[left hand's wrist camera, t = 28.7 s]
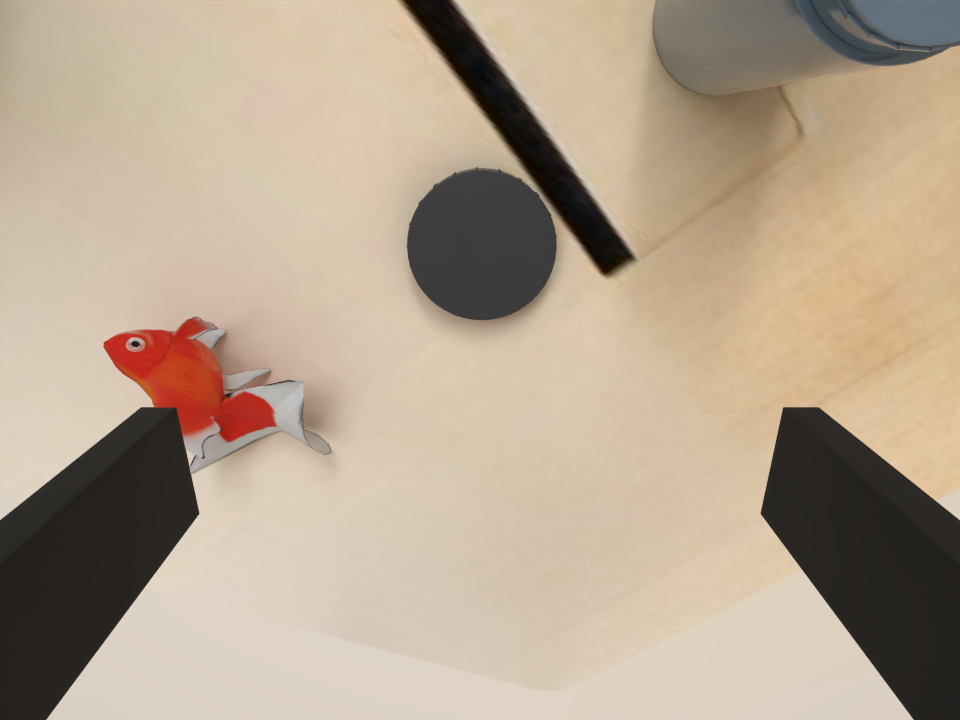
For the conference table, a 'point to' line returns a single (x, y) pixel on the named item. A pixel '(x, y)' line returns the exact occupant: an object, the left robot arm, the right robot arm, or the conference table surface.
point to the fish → (209, 391)
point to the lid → (481, 244)
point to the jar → (795, 39)
